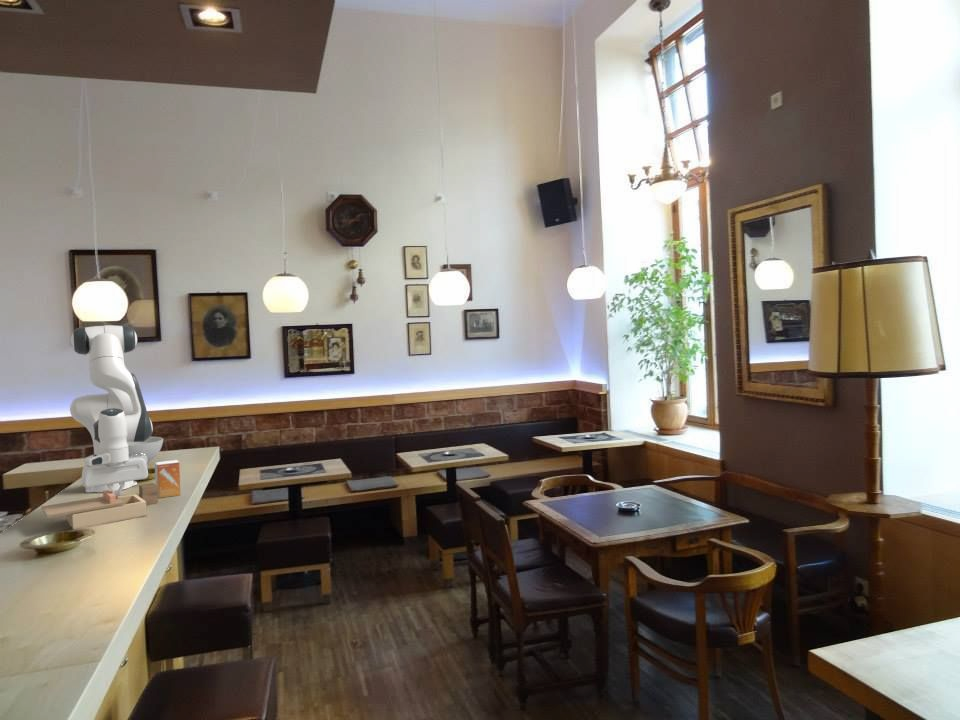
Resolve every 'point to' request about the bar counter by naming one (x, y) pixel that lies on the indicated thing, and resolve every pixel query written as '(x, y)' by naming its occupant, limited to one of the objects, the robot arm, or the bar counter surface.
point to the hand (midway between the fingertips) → (116, 495)
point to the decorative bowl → (146, 447)
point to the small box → (167, 478)
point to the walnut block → (148, 493)
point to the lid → (82, 505)
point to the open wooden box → (109, 513)
